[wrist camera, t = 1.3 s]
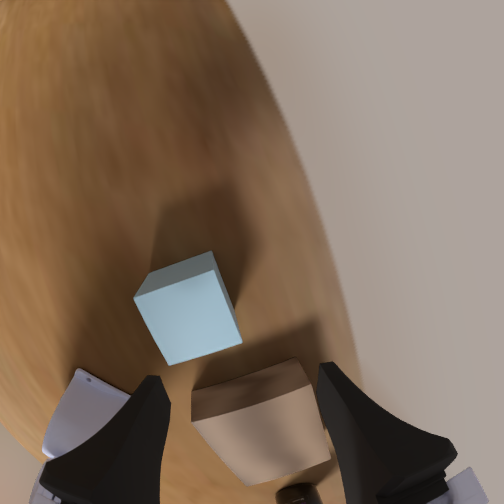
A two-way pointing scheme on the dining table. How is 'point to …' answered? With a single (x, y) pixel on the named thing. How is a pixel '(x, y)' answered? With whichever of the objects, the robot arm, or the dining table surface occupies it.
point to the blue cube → (188, 309)
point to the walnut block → (262, 423)
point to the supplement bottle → (299, 495)
